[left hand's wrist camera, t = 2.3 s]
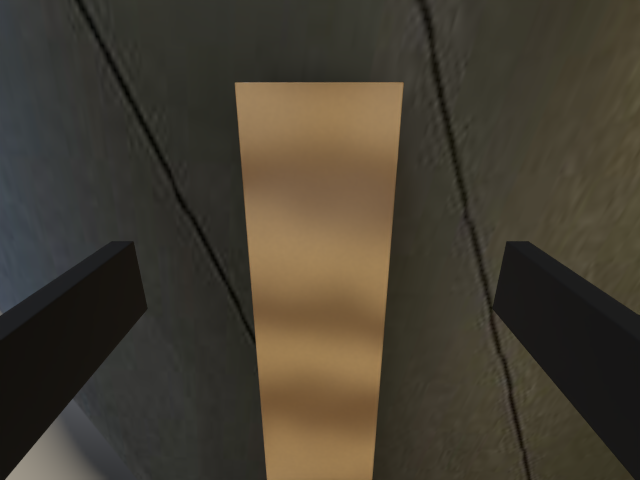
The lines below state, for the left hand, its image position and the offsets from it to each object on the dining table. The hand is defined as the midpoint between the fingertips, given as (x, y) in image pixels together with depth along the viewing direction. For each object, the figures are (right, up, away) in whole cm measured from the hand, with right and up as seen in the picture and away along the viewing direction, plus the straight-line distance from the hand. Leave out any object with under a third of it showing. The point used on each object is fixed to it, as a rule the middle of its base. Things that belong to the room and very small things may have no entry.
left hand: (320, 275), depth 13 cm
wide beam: (0, -19, +25) cm, 31 cm away
